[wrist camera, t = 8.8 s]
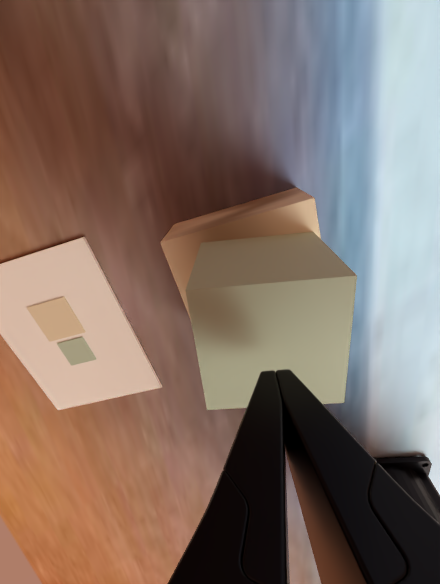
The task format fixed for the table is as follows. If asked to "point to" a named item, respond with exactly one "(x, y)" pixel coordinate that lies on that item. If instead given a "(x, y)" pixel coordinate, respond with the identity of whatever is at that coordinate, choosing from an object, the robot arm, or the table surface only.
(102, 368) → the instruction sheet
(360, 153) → the table surface
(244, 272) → the sage cube
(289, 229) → the birch base block
